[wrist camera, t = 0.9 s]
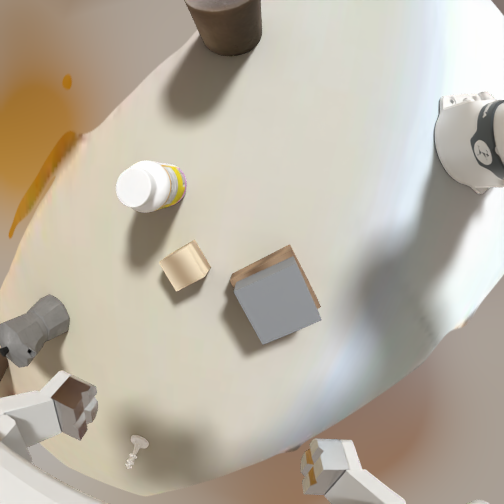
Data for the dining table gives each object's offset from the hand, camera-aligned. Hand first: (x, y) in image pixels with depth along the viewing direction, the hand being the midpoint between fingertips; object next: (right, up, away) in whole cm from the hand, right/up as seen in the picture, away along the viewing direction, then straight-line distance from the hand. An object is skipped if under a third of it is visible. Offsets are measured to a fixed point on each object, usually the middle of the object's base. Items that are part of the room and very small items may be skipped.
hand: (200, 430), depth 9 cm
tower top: (+6, 0, +34) cm, 34 cm away
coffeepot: (-41, -7, +42) cm, 59 cm away
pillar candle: (-1, +42, +28) cm, 50 cm away
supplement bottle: (-11, +17, +35) cm, 40 cm away
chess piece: (-26, -41, +49) cm, 69 cm away
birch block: (-8, +5, +37) cm, 38 cm away
